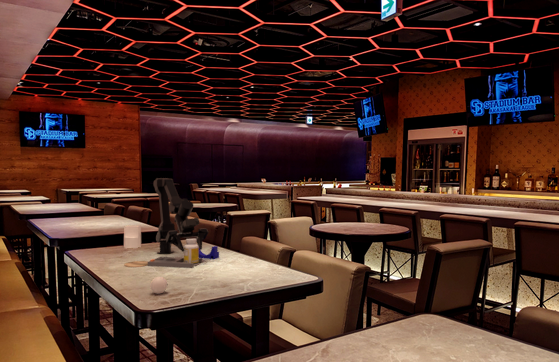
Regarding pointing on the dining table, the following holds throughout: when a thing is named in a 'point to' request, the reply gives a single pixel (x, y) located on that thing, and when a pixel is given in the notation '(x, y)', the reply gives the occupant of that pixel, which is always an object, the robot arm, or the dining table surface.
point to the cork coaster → (136, 264)
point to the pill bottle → (191, 251)
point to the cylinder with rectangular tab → (132, 236)
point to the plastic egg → (158, 285)
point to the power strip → (171, 262)
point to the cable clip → (212, 255)
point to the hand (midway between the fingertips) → (192, 250)
